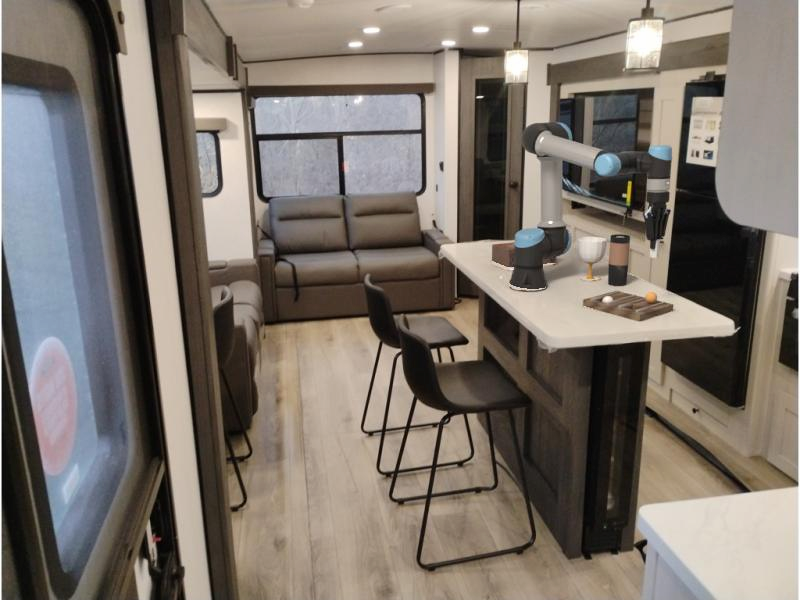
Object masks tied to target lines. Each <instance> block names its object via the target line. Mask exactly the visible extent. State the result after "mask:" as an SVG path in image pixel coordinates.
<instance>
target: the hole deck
mask: <svg viewBox="0 0 800 600" xmlns="http://www.w3.org/2000/svg"><path fill="white" fill-rule="evenodd" d="M606 296H610V297H612V298H613V300H614V301H611V302H607V303H604V302H602V300H603V298H604V297H606ZM584 306H586V307H585V308H588V307H589V308H590V309H591V308H593V309H592V310H595V309H596V310H595V311H599V312H603V313H606V314H611V315H613V316H617V317H620V318H625V319H629V320H632V321H635V322H639V323H640V322H643V321H646V320H649V319H652V318H656V317H659V316H662V315H665V314H668V312H669V313H672V312H673V311H674V304H673V303H669V302H665V301H661V300H658V299H657V300H656V302H654V303H648V302H647V301H646V299H645V297H644V296H640V295H636V294H632V293H628V292H627V293H626V292H623V291H620V290H614V291H610V292H607V293H603V294H598V295H596V296H592V297H588V298H584V299H582V307H584ZM589 308H588V309H589ZM671 311H672V312H671Z"/></svg>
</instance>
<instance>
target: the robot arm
mask: <svg viewBox="0 0 800 600" xmlns="http://www.w3.org/2000/svg"><path fill="white" fill-rule="evenodd" d="M520 141H521V145H522V147H523V149H524V150H525V151H526V152H528V153H529V154H533V155H536V159H537V160H538V161H539V162H540V221H539V223H537V225H536V227H530V228H523V229H520V230H518V231H517V232H516V233H515V235H514V241H513V242H514V270H513V271H512V273H511V275H510V276H511V277H510V279H509V283H510V284H511V285H513V286H516V287H520V288H527V289H539V288H545V287H546V286H547V287H548V282H547V279H546V276H545V271H544V267H543V259H547V258H551V257H556V258H557V257H560V256H562V255H565V254H566V253H567V252H568V251H569V250H570V248H571V246H572V242H573V241H572V239H573V237H572V234H571V233H570V230H569V229H567V224H566V223H565V221H564V219H563V161H565V162H566V163H570V164H574V165H577V166H580V167H583V168H585V169H589V170H591V171H595V172H596V174H598V175H599V176H601V177H613V176H620V175H627V174H628V175H629V174H647V179H646V180H647V181H646V190H647V192H646V196H645V197H646V198H645V201H646V203H648V207H647V211H646V212H645V211H644V212H642V216H643V218H644V229H645V237H646V239H647V240H650V241H649V258H653V259H659V258H660V247H661V240H664V237H666V236H665V235H666V232H667V227H668V223H669V222H668V221H669V217H670V214H671V209H670V208H667V206H668V205H667V203H669V202H670V196H671V195H670V193H671V192H670V191H669V190H671V189H670V188H671V178H672V177H671V174H672V173H671V172H672V161H673V148H672V146H671V145H667V144H666V145H664V144H663V145H651V146H649V148H648V151H632V150H628V151H621V152H611V151H607V150H606V149H605V150H604V149H601V148H598V147H594V146H591V145H588V144H583V143H581V142H577V141H574V140H573V135H572V131H571V129H570V127H569V126H568V125H567V124H565V123H563V122H560V121H559V122H558V121H551V122H535V123H532V124H529V125H528V126H526V127H525V128H524V130H523V131H522V133H521V139H520ZM509 283H508V284H509Z"/></svg>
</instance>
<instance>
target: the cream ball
mask: <svg viewBox="0 0 800 600" xmlns="http://www.w3.org/2000/svg"><path fill="white" fill-rule="evenodd" d="M611 301H614V300H613V298H612V297H610V296H606V297H604V298H603V300H602V302H604V303H607V302H611Z"/></svg>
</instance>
